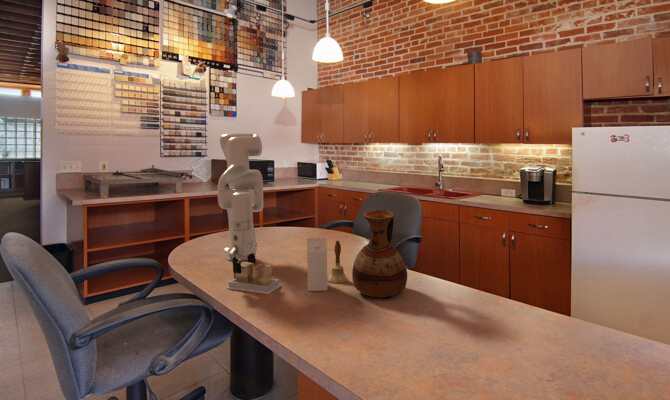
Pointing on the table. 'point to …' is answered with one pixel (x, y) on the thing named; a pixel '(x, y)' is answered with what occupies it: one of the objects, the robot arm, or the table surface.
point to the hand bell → (337, 268)
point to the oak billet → (245, 273)
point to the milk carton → (317, 264)
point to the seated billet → (262, 274)
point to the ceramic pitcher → (379, 259)
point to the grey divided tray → (254, 286)
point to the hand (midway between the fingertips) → (244, 268)
